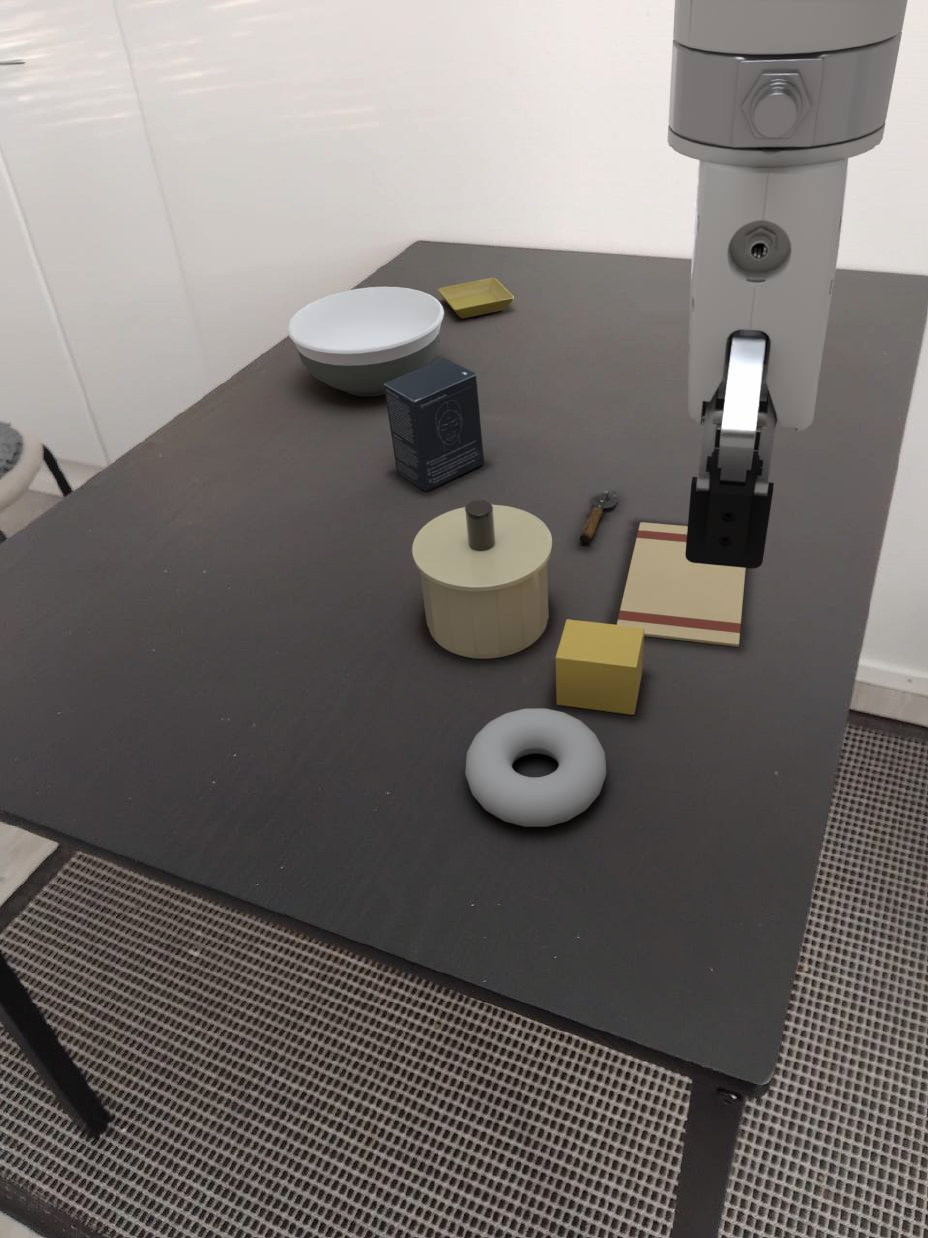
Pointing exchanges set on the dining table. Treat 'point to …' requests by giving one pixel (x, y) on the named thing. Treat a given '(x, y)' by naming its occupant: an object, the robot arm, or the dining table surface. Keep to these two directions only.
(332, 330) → the bowl
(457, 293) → the yellow tray
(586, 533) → the can opener
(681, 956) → the dining table surface
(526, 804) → the donut
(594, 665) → the cheese
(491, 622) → the pot
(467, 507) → the pot lid
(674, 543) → the cloth
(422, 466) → the box
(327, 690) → the dining table surface
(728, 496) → the robot arm
